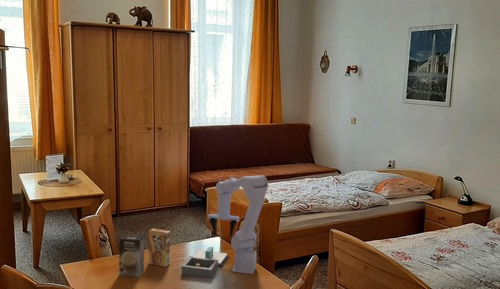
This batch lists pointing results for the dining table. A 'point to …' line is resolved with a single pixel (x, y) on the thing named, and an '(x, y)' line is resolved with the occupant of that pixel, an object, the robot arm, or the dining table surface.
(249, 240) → the robot arm
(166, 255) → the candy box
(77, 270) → the dining table surface
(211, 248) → the lid
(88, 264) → the dining table surface
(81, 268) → the dining table surface
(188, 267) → the tub
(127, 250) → the coffee box
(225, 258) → the mat
